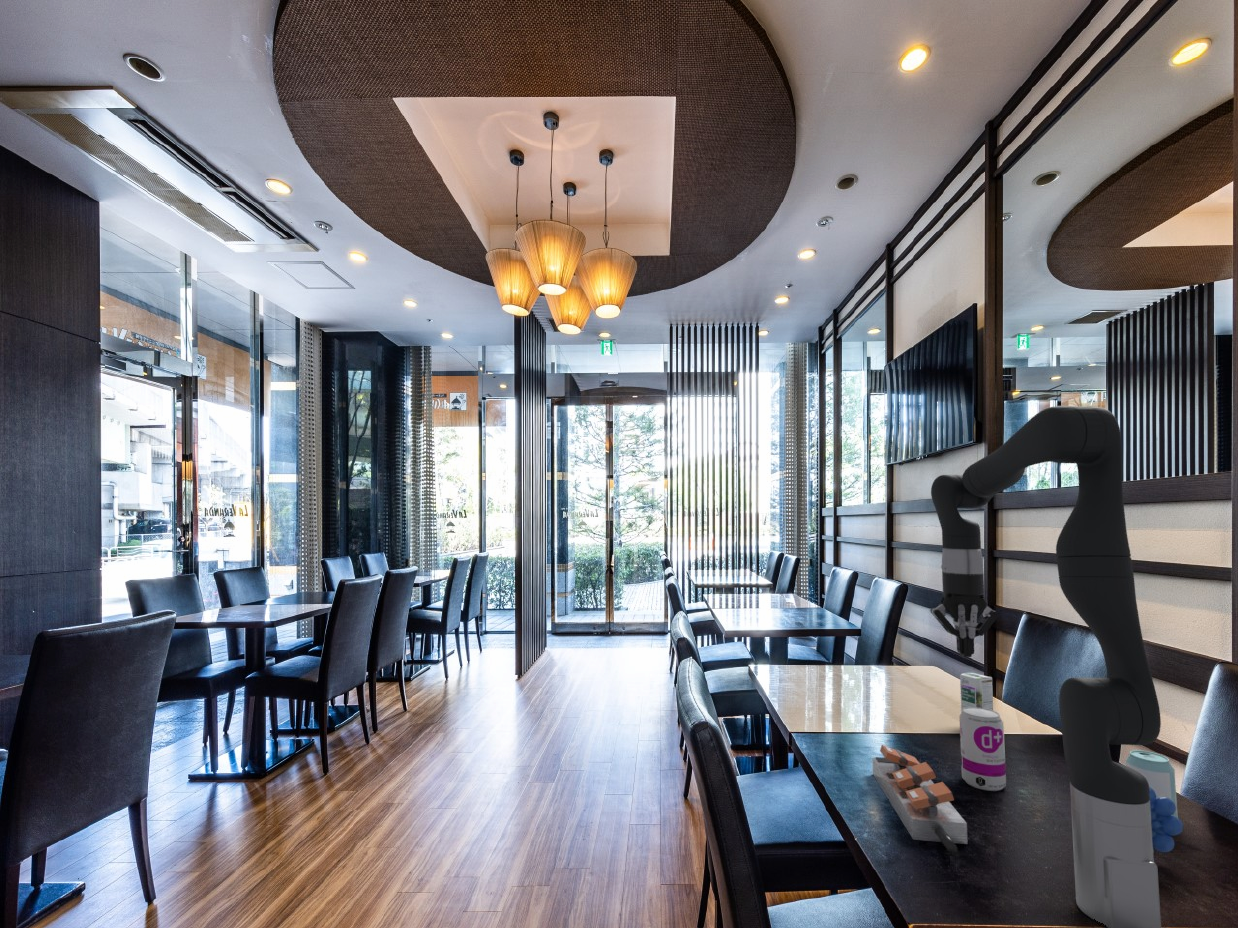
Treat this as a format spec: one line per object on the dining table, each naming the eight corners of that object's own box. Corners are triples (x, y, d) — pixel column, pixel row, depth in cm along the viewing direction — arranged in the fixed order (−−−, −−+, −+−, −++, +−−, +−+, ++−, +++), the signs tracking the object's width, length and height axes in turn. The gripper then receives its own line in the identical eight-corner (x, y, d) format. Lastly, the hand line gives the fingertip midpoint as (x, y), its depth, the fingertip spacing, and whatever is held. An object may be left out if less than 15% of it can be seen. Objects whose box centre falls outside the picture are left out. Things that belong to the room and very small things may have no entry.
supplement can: (1013, 793, 127) (1009, 719, 128) (969, 790, 129) (966, 716, 130) (997, 777, 135) (994, 707, 136) (956, 774, 137) (953, 705, 138)
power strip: (982, 862, 101) (981, 834, 102) (924, 857, 103) (923, 829, 103) (915, 776, 135) (914, 755, 135) (872, 773, 136) (872, 752, 137)
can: (1120, 815, 118) (1116, 750, 119) (1143, 809, 121) (1139, 746, 122) (1163, 832, 112) (1159, 764, 113) (1187, 826, 114) (1182, 759, 115)
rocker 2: (936, 778, 120) (932, 769, 120) (901, 789, 120) (898, 780, 121) (928, 769, 124) (925, 760, 124) (895, 780, 125) (891, 771, 125)
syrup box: (960, 728, 167) (958, 673, 168) (975, 725, 169) (972, 671, 170) (980, 735, 162) (978, 678, 163) (995, 731, 164) (992, 676, 165)
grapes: (1176, 854, 104) (1172, 781, 105) (1191, 875, 98) (1185, 797, 99) (1092, 837, 110) (1088, 768, 111) (1100, 856, 104) (1096, 782, 105)
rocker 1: (919, 772, 128) (921, 764, 128) (885, 759, 130) (887, 751, 130) (912, 763, 133) (914, 755, 133) (879, 751, 134) (882, 743, 134)
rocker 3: (954, 801, 111) (951, 790, 111) (916, 810, 112) (912, 800, 112) (945, 790, 115) (942, 780, 115) (908, 799, 116) (905, 789, 116)
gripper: (935, 571, 124) (938, 659, 123) (1005, 573, 122) (1009, 661, 121) (922, 568, 132) (925, 651, 130) (988, 569, 130) (992, 653, 128)
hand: (965, 656), depth 125 cm, fingers closed
